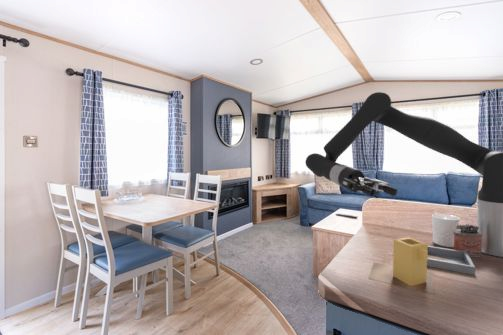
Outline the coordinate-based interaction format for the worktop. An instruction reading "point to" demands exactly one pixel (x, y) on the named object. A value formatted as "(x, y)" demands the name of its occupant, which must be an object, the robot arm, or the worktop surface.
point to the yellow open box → (410, 261)
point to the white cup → (444, 229)
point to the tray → (451, 260)
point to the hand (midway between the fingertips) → (385, 193)
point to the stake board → (386, 275)
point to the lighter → (468, 240)
